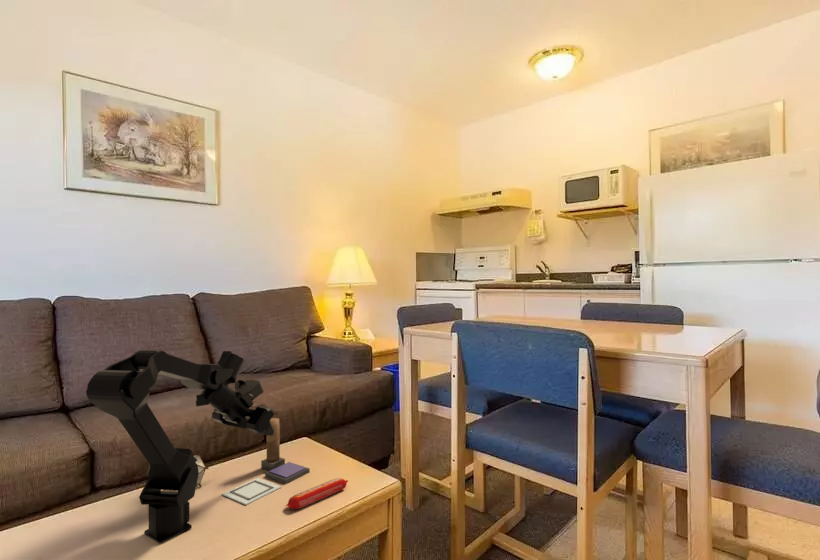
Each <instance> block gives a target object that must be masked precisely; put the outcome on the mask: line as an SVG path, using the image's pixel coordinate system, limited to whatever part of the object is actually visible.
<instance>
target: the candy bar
mask: <svg viewBox="0 0 820 560" xmlns="http://www.w3.org/2000/svg"><path fill="white" fill-rule="evenodd" d="M348 482H349V480H348V479H347V480H345V479H344V478H341V477H340V478H338V477H337V478H332V479H331V480H328V481H326V482H324V483H321V484H319V485H316V486H314V487H310V488H309V489H306V490H304V491H301V492H299V493H296V494H295V495H293V496H291V497H289V499H288V502H287V504H286V505H285V507H288V508H289V509H294V510H295V509H296V510H297V509H301V508H304V507H306V506H308V505H311V504H312V503H315V502H317V501H320V500H322V499H324V498H326V497H329V496H331V495H333V494H335V493H339V491H342V490H344V489H345V488H346V487H347V483H348Z"/></svg>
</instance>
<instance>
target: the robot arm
mask: <svg viewBox="0 0 820 560" xmlns="http://www.w3.org/2000/svg"><path fill="white" fill-rule="evenodd" d="M244 364H245V360H244V358H243V357H241V356H239V355H238V354H235V353H233V352H232V351H231V350H223V351H222V353H221V356H220V358H219V360H218V362H217V363H216V364H215V363H197V362H194V361H190V360H188V359H186V358H183V357H179V356H177V355H173V354H170V353H168V352H166V351H164V350H162V349H143V348H142V349H140V350H137V351H135V352H133V354H131V355H130V356H127V357H126V358H124V359H122V360H119V361H117V362H115V363H112V364H110V365H108V366H107V367H106V368H104V369H102V370H99V371H98V372H96V373H95V374H93V376H92V377H91V378H90V380H89V381H88V383H87V386H86V391H85V393H86V396H87V398H88V400H89V402H91V403H92V404H93V405H94V406H95V407H96V408H98V409H99V410H100V411H102V412H104V413H107V414H108V415H111V416H113V417H114V418H116V419H117V420H118V421H119V423H120V424H121V425H122V427H123V428H124V429H125V432H127V435H129V437H130V438H131V440H132V441H133V443H135V445H136V446H137V448H138V449H139V451H140V452H141V454H142V455H143V457H144V458H145V460H146V462H147V463H148V464H149V467H148V470H147V473H146V474H147V478H148V479H147V481H146V483H145V485H144V487H143V488H142V491H141V492H140V494H139V497H138V498H139V502H140V504H141V505H142V506H143V505H144V506H146V505H148V516H147V517H148V529H145V530H144V532H143V533H144V535H145V536H148V537H149V538H150V539H151V540H153V541H155V542H157V543H158V544H163V543H164V542H166V541H168V540H171V539H173V538H174V537H177V536H179V535H180V534H183V533H185V532H187V531H189V530H190V529H192V527H193V525H192V524H191V523H189V522H190V500H192V499H193V498H194V497H195V494H196V488H197V486H196V484H197V479H198V474H199V471H198V466H197V463H196V461H197V459H196V458H195V457H194V453H193V451H192V450H191V449H190V448H187V447H184V448H183V447H175V446H174V444H173V442H172V440H171V439H170V438H169V437H168V435H167V433H166V432H165V430H164V428H163V426H162V425H161V423H160V421H159V420H158V419H157V417H156V415H155V413H154V412H153V410H152V409H151V407H150V406H149V404H148V400H149V397H150V393H151V390H150V389H151V388H152V387H153V386H154V385H155V384H156V383H157V380H158V375H162V376H164V377H168V378H172V379H177V380H179V381H180V382H181V385H183V386H185V387H187V388H188V389H190V390H201V391H200V392H199V394H196V396H195V397H196V400H195V406H196V407H203V406H208V405H209V406H211V407H212V408H213V411H212V413H211V416H212V417H211V418H212V420H213V421H215V422H216V423H220V424H223V425H225V426H230V427H235V428H241V429H246V430H249V432H251V433H255V434H258V435H264V436H265V435H266V436H267V435H270V436H272V435H273V434H274V430H273V428H272V426H271V423H270V420H271V418H274V417H273V416H274V415H275V410H273V408H271V407H269V406H267V405H266V406H264V405H258V406H255V409H252V407H253V405H254V403H255V402H254V400H255V399H257V397H259V396H260V395H262V394H263V393H264V391H265V390H264V389H263V386H262V384H261V381H259V380H255V379H246V380H243V379H238V376H239V375H240V373H241V370H242V368H243V366H244ZM229 384H234V390H233V389H232V388H231V387H230V386H229ZM162 490H163V491H162ZM177 491H178V492H177Z"/></svg>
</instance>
